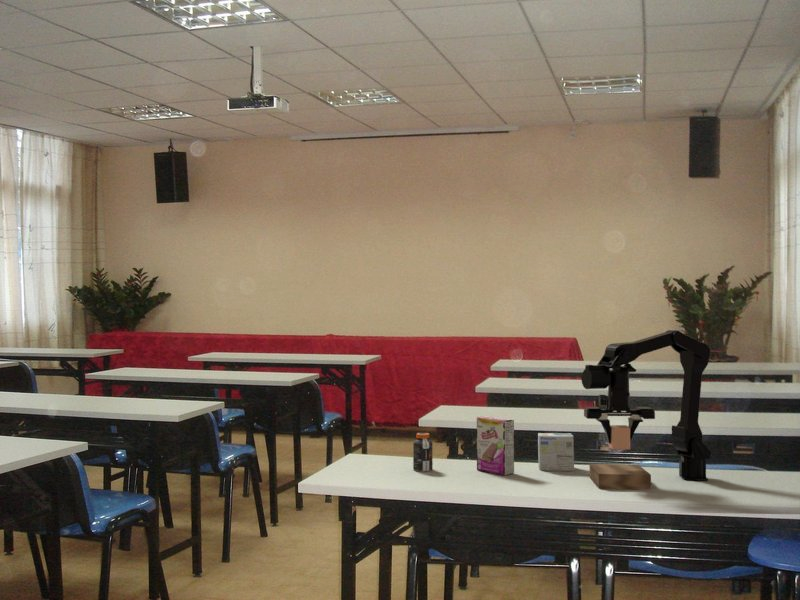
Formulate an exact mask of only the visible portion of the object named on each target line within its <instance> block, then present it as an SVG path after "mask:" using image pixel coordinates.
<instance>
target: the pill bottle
mask: <svg viewBox="0 0 800 600" xmlns="http://www.w3.org/2000/svg"><path fill="white" fill-rule="evenodd" d="M415 437H416V439H415V440H413V442H412V443H413V447H412V448H413V449H412V450H413V451H412V452H413V453H412V455H413V456H412V461H413V462H412V466H413V467H412V468H413V471H416V472H420V471H427V472H431V471H432V470H433V465H434V463H433V455H434V454H433V449H434V448H433V447H434V446H433V441H432V440H430V433H429V432H417V433H416V436H415Z"/></svg>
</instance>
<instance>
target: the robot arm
mask: <svg viewBox="0 0 800 600" xmlns="http://www.w3.org/2000/svg"><path fill="white" fill-rule="evenodd" d="M667 347H671V349H672V350H674V351H675V352H677V354H678V355H679V361H680V362H679V363H680V364H681V367H682V369H683V383H682V396H681V407H680V419H679V421H678V422H677V425H671V435H670V437H669V438H670V440H671V443H672V446H673V447H674V449H675V451H676V453H677V455H678V456H680V460H679V461H678V471H679V472H678V476H679V477H681V478H682V479H684V480H686V481H709V478H708V477H707V460H710V458H711V455H712V451H711V450H710V449H709V448H708V447H707V446H706V445H705V444H704V439H703V431H702V429H701V426H700V424H699V414H700V404H701V403H700V402H701V394H702V393H701V391H702V379H703V373H704V371H705V370H706V368H707V366H709V361H710V357H711V348H710V347H709V345H708V344H707V343H705V342H702V341H701V342H700V341H698V340H697V339H694V338H692V337H690V336H688V335H686V334H685V333H683V332H681V331H680V330H676V329H674V330H671V329H670V330H666V331H664V332H661V333H658V334H654V335H652V336H649V337H645V338H642V339H638V340H635V341H630V342H627V341H625V342H615V343H613V342H612V343H610V344H607V346H606V347H605V350H604V353H603V355H602V357H601V358H600V360H599V361H598V363H597V364H595V365H594V364H585V365H584V366H585V367H584V370H583V371H582V374H581V379H580V380H581V384H582V386H583V388H584V389H586V390H598V389H599V390H601V389H602V390H603V389H604V390H605V389H607V388H608V390H607V394H599V395H598V406H585V408H584V409H583V417H584V418H586V419H589V420H592V419H593V420H596V421H597V422H599V423H600V424H601V425H602V428H603V430H604V433H605V437H606V439H607V443H608V445H609V444H611V432H610V425H611V420H610V419H608V417H627V420H628V427H629V428H630V443H631V442H632V440H633V436H634V434H635V432H636V431H637V428H638V426H639V425H640V423H644V420H655V419H656V412H655V409H653V407H649V406H636V408H635V409H631V407H630V396H631V395H630V394H631V393H630V373H637V369H636V368H635V367H634V366H632V364H631V363H632V362H634V361H636V360H637V359H638V358H639V357H641V356H642V355H645V354H648V353H650V352H654V351H657V350H661V349H665V348H667ZM602 407H604V409H602Z"/></svg>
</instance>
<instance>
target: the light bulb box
mask: <svg viewBox="0 0 800 600" xmlns="http://www.w3.org/2000/svg"><path fill="white" fill-rule="evenodd" d="M574 440H575V439H574V435H573V434H572V433H569V432H567V433H563V432H562V433H561V432H560V433H559V432H548V433H547V432H544V433H541V432H538V433H537V450H538V451H537V452H538V453H537V454H538V455H537V457H538V458H537V459H538V470H539V471H540V470H541V471H551V472H553V471H554V472H555V471H556V472H557V471H558V472H560V471H561V472H564V471H565V472H574V471H575V450H574V449H575V448H574V442H575V441H574Z"/></svg>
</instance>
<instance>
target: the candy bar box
mask: <svg viewBox="0 0 800 600" xmlns="http://www.w3.org/2000/svg"><path fill="white" fill-rule="evenodd" d="M476 471H480V472H484V473H491V474H496V475H500V476H509V475H512V474H515V420H514V419H512V418H504V417H499V416H498V417H496V416H489V415H484V416H477V417H476Z"/></svg>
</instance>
